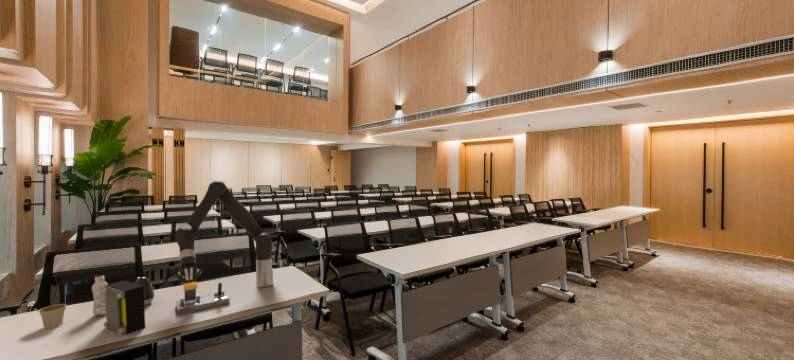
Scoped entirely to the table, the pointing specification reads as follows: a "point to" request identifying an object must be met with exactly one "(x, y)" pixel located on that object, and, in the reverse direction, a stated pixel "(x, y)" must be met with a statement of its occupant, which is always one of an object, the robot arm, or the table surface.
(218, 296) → the grey lever switch
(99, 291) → the plastic bottle
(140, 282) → the dark grey ridged ovoid
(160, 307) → the table surface
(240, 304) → the table surface
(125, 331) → the electrical component
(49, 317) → the flower pot
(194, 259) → the robot arm
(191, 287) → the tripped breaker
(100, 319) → the table surface
